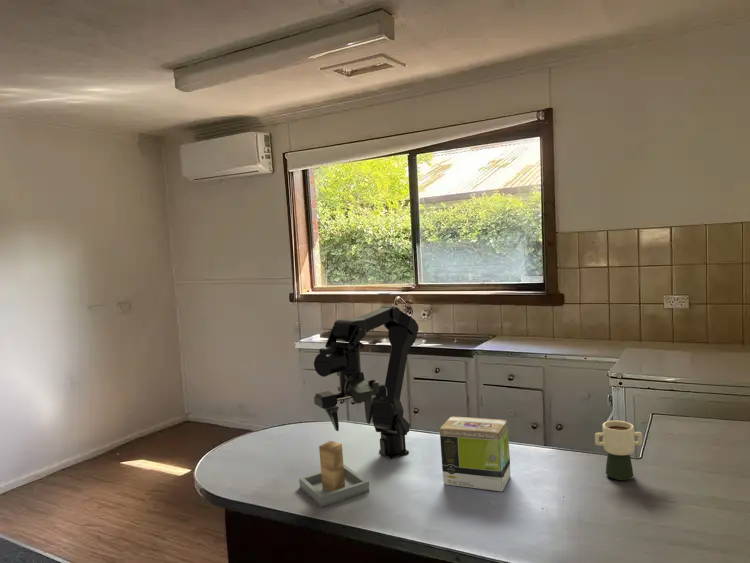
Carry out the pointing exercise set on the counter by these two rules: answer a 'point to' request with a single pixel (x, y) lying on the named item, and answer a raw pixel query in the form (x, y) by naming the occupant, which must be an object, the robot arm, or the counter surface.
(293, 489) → the counter surface
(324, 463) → the oak post
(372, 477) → the counter surface
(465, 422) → the tea box
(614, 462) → the character mug
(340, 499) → the tray
